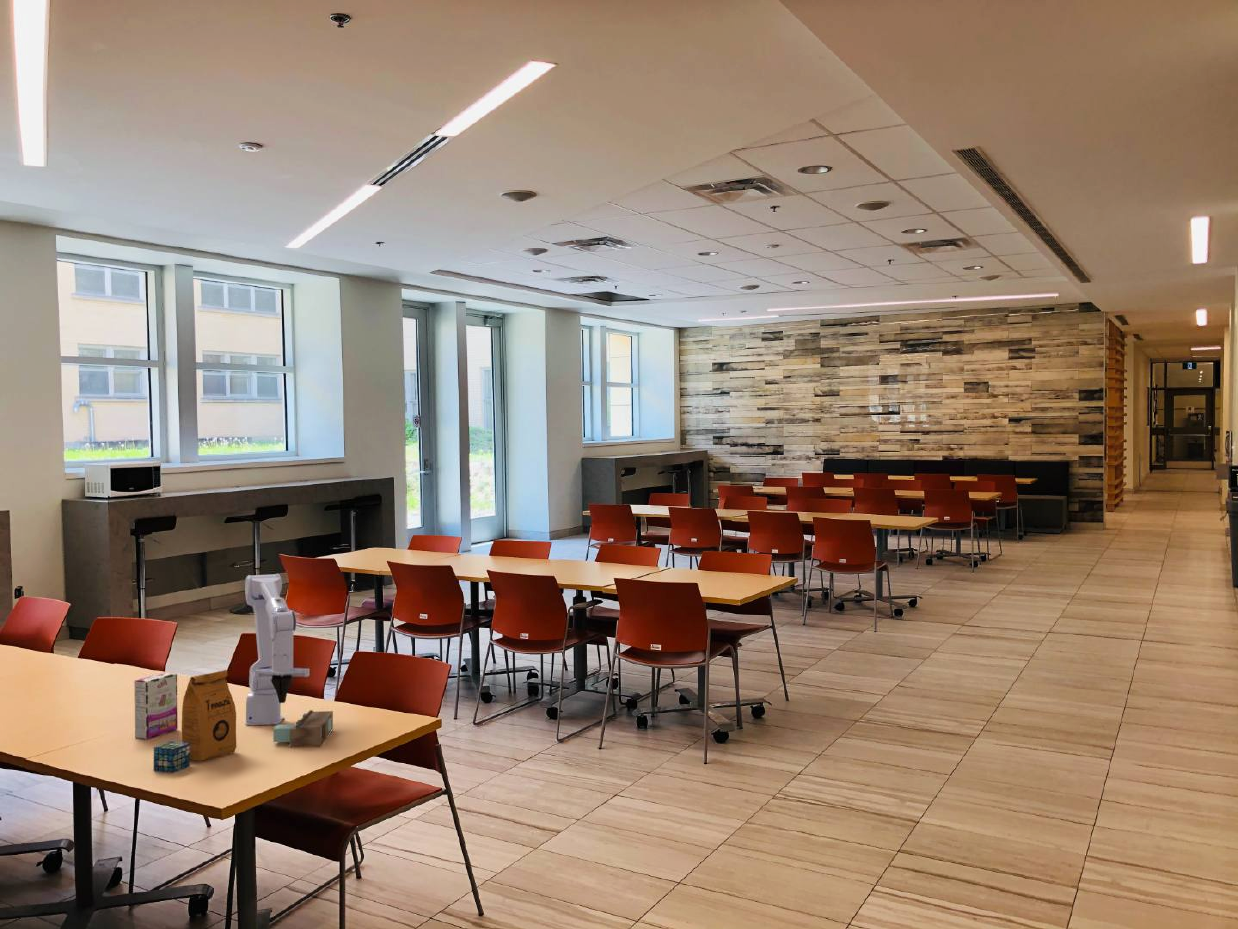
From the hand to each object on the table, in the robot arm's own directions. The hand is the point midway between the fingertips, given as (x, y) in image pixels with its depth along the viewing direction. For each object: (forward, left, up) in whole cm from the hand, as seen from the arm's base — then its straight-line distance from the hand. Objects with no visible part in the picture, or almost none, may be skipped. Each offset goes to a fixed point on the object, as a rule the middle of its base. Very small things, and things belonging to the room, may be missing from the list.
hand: (282, 702), depth 273 cm
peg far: (+9, 0, -9) cm, 13 cm away
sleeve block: (+9, -4, -9) cm, 14 cm away
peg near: (+4, -8, -9) cm, 13 cm away
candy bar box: (-36, +4, -10) cm, 37 cm away
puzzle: (-20, -29, -10) cm, 36 cm away
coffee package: (-14, -19, -10) cm, 25 cm away
